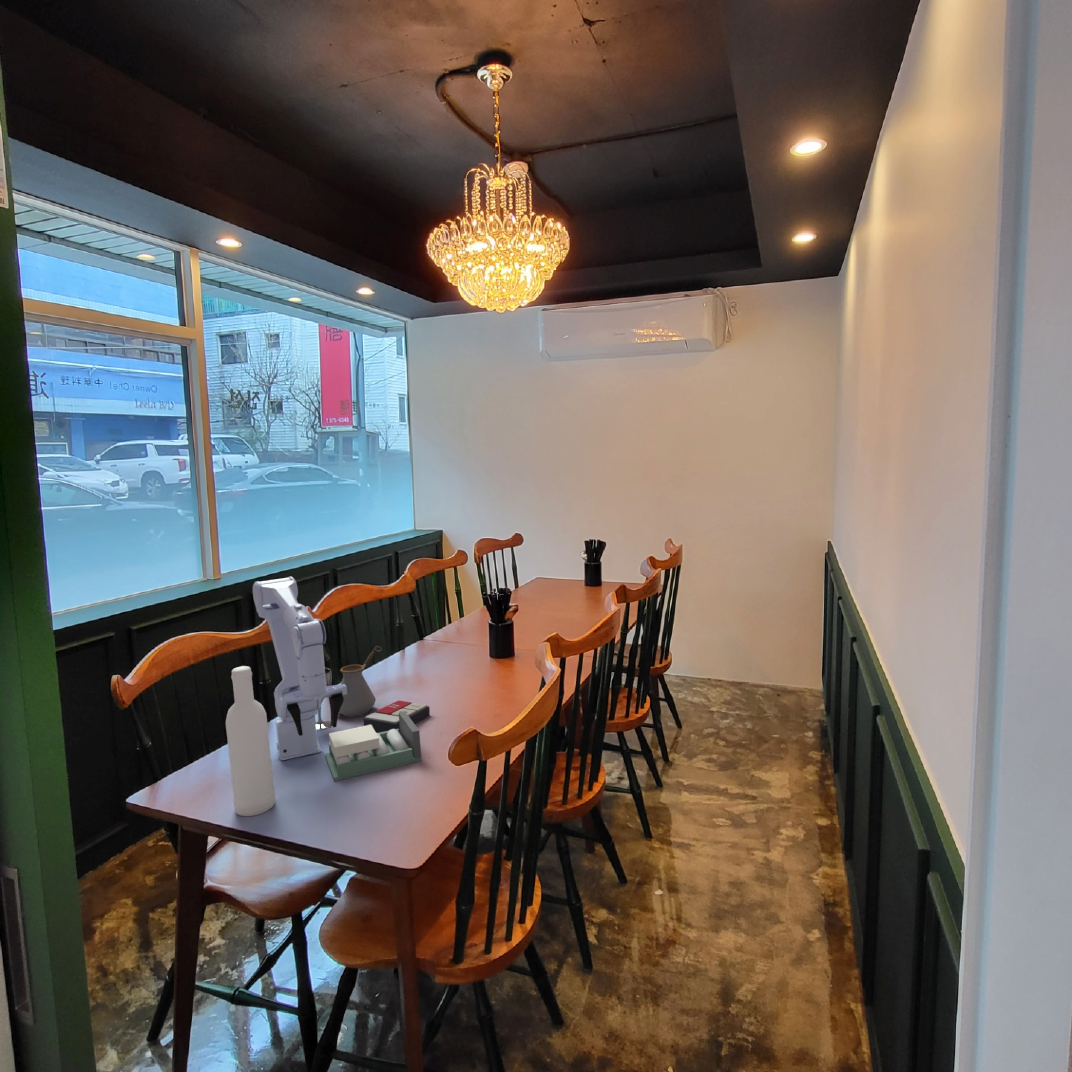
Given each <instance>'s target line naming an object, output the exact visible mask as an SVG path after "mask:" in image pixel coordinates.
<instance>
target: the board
mask: <svg viewBox="0 0 1072 1072" xmlns="http://www.w3.org/2000/svg"><path fill="white" fill-rule="evenodd" d="M328 739H329V743H330V745H331V747H332V750H333V752H334V755H335V757H336V758H337V757H341V756H345V755H350V754H354V753H359V752H363V751H368V750H372V749H377V748H380V745H379V737H378V735H377V734H376V732H375V730H374V729H373V727H372V725H367V726H364V725H363V726H358V727H353V728H352V727H351V728H348V729H344V730H338V731H334V732H329V733H328Z"/></svg>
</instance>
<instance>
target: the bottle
mask: <svg viewBox="0 0 1072 1072" xmlns="http://www.w3.org/2000/svg"><path fill="white" fill-rule="evenodd" d="M230 678H231V680H232V686H233V687H232V689H233V697H234V698H233V699H234V703H233V704H232V705H231V706H230V708H228V711H227V714H226V719H225V729H226V730H225V731H226V737H227V747H228V755H229V756H228V757H229V765H230V774H231V775H230V776H231V782H232V783H231V785H232V793H233V806H234V811H235V813H236V814H237V815H238V816H241V817H253V816H258V815H261V814H263V813H266V812H267V811H269V810H270V809H272V808H273V807H274V806H275V804H276V794H275V793H276V792H275V786H274V777H273V768H272V767H273V766H272V758H271V748H270V738H269V728H268V718H267V712H266V709H265V708H264V705H262V703H261V702H259V701H258V700H256V699H255V697H254V689H253V688H254V685H253V680H252V679H253V672H252V669H251V667H250V666H246V665H241V666H238V667H235V668H233V669H232V670H231V677H230Z"/></svg>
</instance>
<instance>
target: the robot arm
mask: <svg viewBox="0 0 1072 1072" xmlns="http://www.w3.org/2000/svg"><path fill="white" fill-rule="evenodd" d="M298 594H299V589H298V585H297V581H296V579H295V578H294V577H293V576H288V577H284V578H278V579H269V580H262V581H254V583H253V584H252V596H253V602H254V605H255V609H256V613H257V614H258V617H259V618H262V619H265V620H266V623H267V625H268V628H269V632H270V636H271V639H272V643H273V647H274V651H275V655H276V659H277V662H278V663H277V664H278V666H279V670H280V674H281V678H282V680H281V681H280V683H278V684H277V686H276V687H275V689H274V692H273V697H274V707H275V711H276V715H277V716H278V717H279V719H275V729H276V737H277V738H276V739H277V740H276V741H277V742H276V750H277V751H278V755H279V759H280V761H284V760H285V761H287V760H290V759H291V760H292V759H294V758H295V759H296V758H299V757H305V756H308V755H313V754H318V753H321V752H322V748H321V745H320V742H319V740H318V734H317V732H318V731H316V721H317V720H316V715H318V713H317V710H319V709H320V707H321V708H322V704H321V699H322V698H325V699H327V698H328V703H329V707H330V721H331V724H332V728H337V724H338V718H339V714H340V713H339V711H340V708H341V706H342V703H343V701H344V697H343V696H342V695H345V694H347V687H346V685H345V684H342V685H341V684H335V685H331V686H326V676H325V668H326V667H325V657H324V646H323V645H324V644H326V641H327V633H326V627H325V625H324V622H323V621H322V619H320V618H314V617H313V616H312V614H311V612H310V611H309V609H308V608H307V607H306V605H303V604H301V603H299V602H298V600H297V599H298Z"/></svg>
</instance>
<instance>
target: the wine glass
mask: <svg viewBox="0 0 1072 1072" xmlns="http://www.w3.org/2000/svg"><path fill="white" fill-rule="evenodd" d="M325 676H326V686H332V670H331V668H328V667H325ZM325 699H326V698H322V699H321V705H323V702H324V700H325ZM327 720H328V719H322V706H321V707H320V709H319V710H317V720H316V721H317V722H316V729H325V730H327V727H329V726H332V724H331V720H330V721H327ZM332 727H333V726H332Z"/></svg>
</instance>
